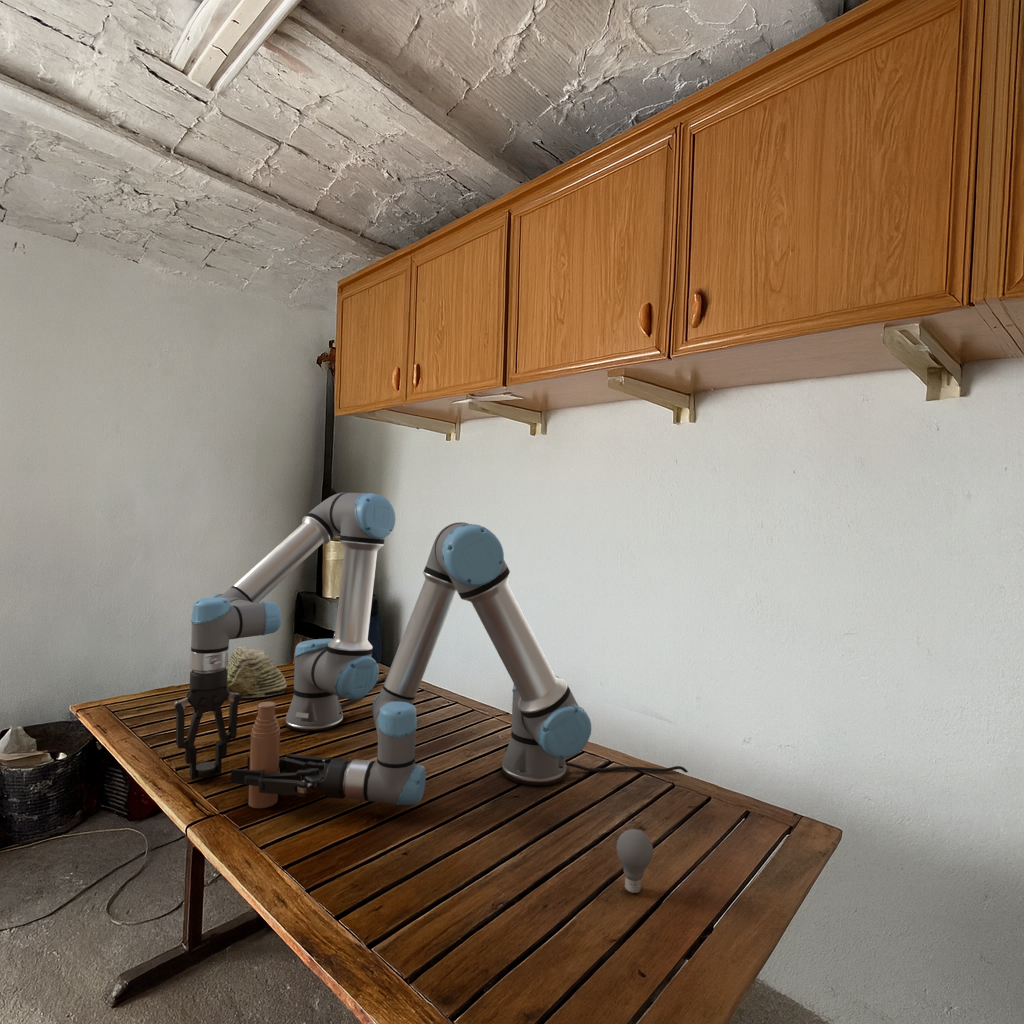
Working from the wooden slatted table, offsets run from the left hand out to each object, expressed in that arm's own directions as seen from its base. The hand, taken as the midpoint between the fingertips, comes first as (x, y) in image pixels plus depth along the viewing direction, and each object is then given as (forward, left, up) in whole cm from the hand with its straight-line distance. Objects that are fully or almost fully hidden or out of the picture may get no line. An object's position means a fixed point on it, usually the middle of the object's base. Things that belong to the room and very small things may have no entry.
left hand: (205, 774), depth 140 cm
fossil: (-38, -47, -1) cm, 60 cm away
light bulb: (-28, +90, -1) cm, 94 cm away
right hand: (0, +14, +5) cm, 15 cm away
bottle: (-3, +18, -1) cm, 19 cm away
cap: (0, 0, +2) cm, 2 cm away
